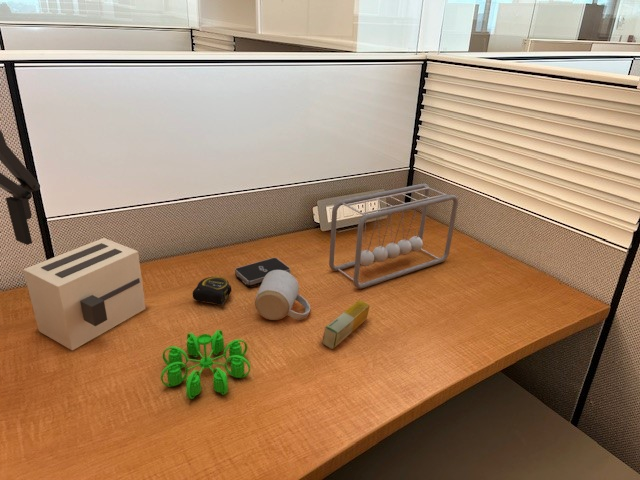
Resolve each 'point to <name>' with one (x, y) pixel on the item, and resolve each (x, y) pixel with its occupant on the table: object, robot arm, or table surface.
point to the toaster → (85, 290)
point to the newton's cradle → (391, 249)
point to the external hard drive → (259, 271)
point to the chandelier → (205, 363)
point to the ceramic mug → (279, 296)
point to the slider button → (93, 310)
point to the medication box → (345, 324)
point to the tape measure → (212, 290)
